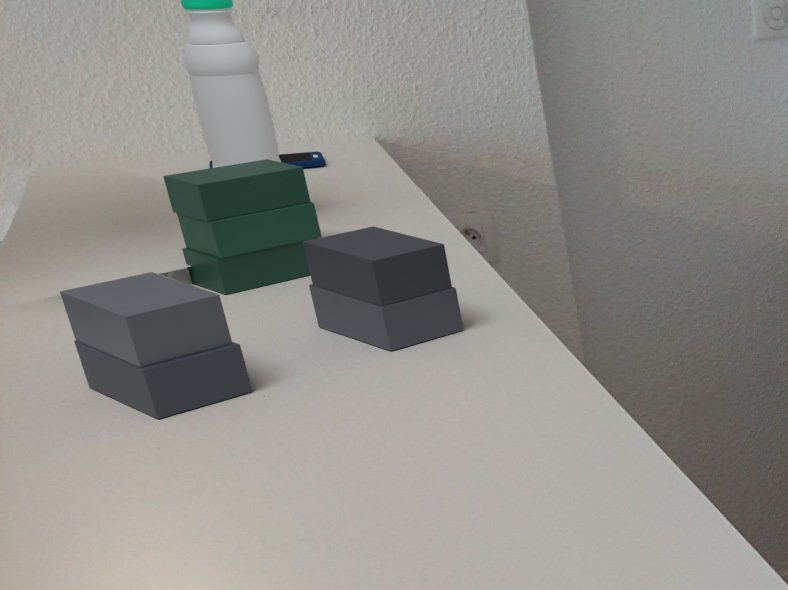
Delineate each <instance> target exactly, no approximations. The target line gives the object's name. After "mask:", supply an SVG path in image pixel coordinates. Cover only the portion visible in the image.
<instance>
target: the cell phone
mask: <svg viewBox="0 0 788 590" xmlns="http://www.w3.org/2000/svg"><path fill="white" fill-rule="evenodd" d="M278 154H279V158H280V160H281V162H282V163H286V164H291V165H295V166H300V167H303V168H315V167H324V166H325V165H326V160H325V158H324V155H323V153H322V152H321V151H306V152H293V153H278ZM208 164H209V169H210V168H212V164H213V163H212V160H211V159H210V161H209V162H208Z"/></svg>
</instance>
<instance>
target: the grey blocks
mask: <svg viewBox="0 0 788 590" xmlns="http://www.w3.org/2000/svg"><path fill="white" fill-rule="evenodd" d="M303 245H304V250H305V254H306V258H307V262H308V267H309V271H310V275H309V276H310V279H311V283H310V284H308V288H309V292H310V295H311V300H312V305H313V309H314V313H315V317H316V321H317V325H318V327H319V328H321V329H323V330H327V331H328V332H329V331H330V332H333V333H335V334H339V335H341V336H344V337H347V338H349V339H354V340H356V341H358V342H362V343H366V344H369V345H372V346H374V347H378V348H380V349H384V350H385V351H389V352H394V351H396V350H397V351H398V350H401V349H403V348H407V347H410V346H414V345H417V344H421V343H424V342H427V341H432V340H435V339H438V338H441V337H442V338H443V337H445V336H449V335H452V334H455V333H459V332H462V331H464V324H463V319H462V314H461V308H460V302H459V298H458V292H457V288H456V287H454V286H452V280H451V275H450V274H451V273H450V269H449V263H448V258H447V252H446V246H445V244H444V243H442V242H437V241H434V240H429V239H426V238H421V237H417V236H413V235H409V234H405V233H401V232H397V231H393V230H390V229H386V228H381V227H377V226H369V227H364V228H360V229H354V230H351V231H346V232H340V233H335V234H331V235H327V236H322V237H320V238H317V239H312V240H307V241H303ZM59 294H60V297H61V299H62V303H63V306H64V309H65V312H66V315H67V319H68V322H69V324H70V327H71V330H72V333H73V337H74V341H73V342H74V345H75V348H76V352H77V354H78V358H79V360H80V364H81V366H82V369H83V372H84V375H85V379H86V381H87V384H88V388H90V389H92V390H94V391H96V392H98V393H100V394H102V395H105V396H107V397H109V398H111V399H113V400H115V401H117V402H120V403H122V404H124V405H126V406H129V407H130V408H132V409H135V410H137V411H139V412H142V413H144V414H146V415H148V416H150V417H153V418H154V419H157V420H160V419H163V418H168V417H171V416H174V415H177V414H181V413H184V412H188V411H191V410H194V409H197V408H198V409H199V408H201V407H205V406H209V405H212V404H215V403H218V402H219V403H220V402H222V401H226V400H229V399H232V398H235V397H236V398H237V397H238V396H242V395H247V394H250V393H252V392H253V388H252V384H251V380H250V376H249V373H248V370H247V365H246V362H245V358H244V355H243V350H242V347H241V344H239V343H237V342H234V341H233V339H232V336H231V332H230V329H229V325H228V321H227V318H226V313H225V310H224V307H223V302H222V299H221V296H220V294H218V293H215V292H212V291H209V290H206V289H203V288H200V287H197V286H196V285H195V286H194V285H193V284H192V285H191V284H190V283H189V284H188V283H185V282H183V281H179V280H177V279H173V278H171V277H168V276H165V275H162V274H159V273H156V272H152V271H151V272H146V273H145V272H144V273H141V274H135V275H132V276H127V277H121V278H116V279H112V280H108V281H102V282H98V283H93V284H88V285H84V286H79V287H75V288H69V289H63V290H61V291H59Z"/></svg>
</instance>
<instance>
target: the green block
mask: <svg viewBox="0 0 788 590" xmlns="http://www.w3.org/2000/svg"><path fill="white" fill-rule="evenodd" d="M162 178H163V181H164V185H165V187H166V191H167V196H168V198H169V201H170V206H171V211H172V212H173V213H175V214H177V213H178V214H181V215H185V216H188V217H192V218H196V219H199V220H203V221H206V222H210V221H216V220H221V219H226V218H231V217H237V216H242V215H247V214H252V213H258V212H263V211H268V210H274V209H279V208H284V207H289V206H295V205H300V204H305V203H310V202H312V201H311V197H310V193H309V189H308V184H307V180H306V179H307V178H306V175H305V170H304V167H300V166H295V165H291V164H286V163H282V162H277V161H273V160H268V159H266V160H260V161H253V162H247V163H241V164H235V165H228V166H222V167H216V168H210V167H209V168H205V169H203V168H202V169H199V170H192V171H191V170H190V171H185V172H180V173H179V172H178V173H173V174H166V175H163V176H162Z"/></svg>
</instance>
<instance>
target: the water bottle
mask: <svg viewBox="0 0 788 590" xmlns="http://www.w3.org/2000/svg"><path fill="white" fill-rule="evenodd" d="M180 4H181V6H182V8H183V10H185V11H184V13H185V14H186V15H187V16H188V18H189V20H190V27H189V29H188V32H187V34H186V41H187V43H186V44H185V47H184V52H183V56H182V57H183V65H184V67H185V70H186V72H187V73H188V74H189V80H190V87H191V92H192V97H193V102H194V105H195V110H196V115H197V118H198V122H199V125H200V129H201V133H202V137H203V139H204V143H205V146H206V148H207V152H208V155H209V158H210V161H211V160H212V163H213V164H212V168H216V167H222V166H228V165H235V164H241V163H247V162H253V161H260V160H266V159H268V160H273V161H277V162H281V160H280V158H279V154H280V153H279V146H278V141H277V140H278V139H277V134H276V129H275V125H274V122H273V116H272V112H271V108H270V104H269V100H268V96H267V93H266V89H265V86H264V82H263V80H262V77H261V74H260V71H259V69H260V61H259V57H258V55H257V53H256V51H255V50H254V48H253V47H252V46H251V44H250V43H249V42H248V41H247V40H246V38H245V36H244V34H243V32H242V31H241V30H240V29H239V27H238V26H237V25H236V24H235V22H234V21H233V19H232V13H233V12H234V9H233V5H234V4H233V0H180Z"/></svg>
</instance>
